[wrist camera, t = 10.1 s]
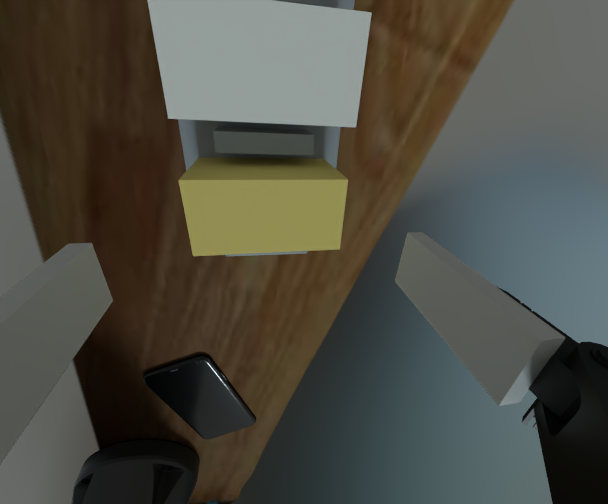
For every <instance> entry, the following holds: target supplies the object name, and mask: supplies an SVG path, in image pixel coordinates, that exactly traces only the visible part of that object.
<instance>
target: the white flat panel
mask: <svg viewBox="0 0 608 504" xmlns="http://www.w3.org/2000/svg"><path fill="white" fill-rule="evenodd" d="M148 6H149V11H150V17H151V23H152V28H153V34H154V40H155V45H156V51H157V57H158V62H159V68H160V74H161V79H162V85H163V91H164V96H165V102H166V108H167V113H168V119H188V120H209V121H231V122H252V123H273V124H295V125H316V126H337V127H356V123H357V116H358V109H359V101H360V94H361V87H362V79H363V72H364V65H365V57H366V50H367V43H368V36H369V28H370V21H371V14H372V13H371V12H363V11H355V10H347V9H339V8H331V7H323V6H315V5H307V4H299V3H291V2H283V1H275V0H148Z"/></svg>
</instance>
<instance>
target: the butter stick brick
mask: <svg viewBox="0 0 608 504" xmlns="http://www.w3.org/2000/svg"><path fill="white" fill-rule="evenodd" d="M179 185H180V190H181V196H182V201H183V206H184V211H185V216H186V222H187V227H188V232H189V237H190V242H191V248H192V253H193V256H208V255H230V254H251V253H272V252H293V251H314V250H335V249H340V242H341V234H342V226H343V218H344V210H345V201H346V193H347V185H348V179H347V178H346V177H345V176H343V175H342V174H341V173H340V172H339V171H338V170H336V169H335V168H334V167H333V166H332V165H331V164H329V163H328V162H327V161H326V160H325V159H297V158H198V159H197V160H196V161H195V162H194V163H193V165H192V166H191V167H190V168H189V169H188V170H187V171H186V172H185V173H184V175H183V176H182V177H181V178H180V179H179Z"/></svg>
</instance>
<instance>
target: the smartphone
mask: <svg viewBox="0 0 608 504" xmlns="http://www.w3.org/2000/svg"><path fill="white" fill-rule="evenodd" d="M143 382H144V383H145V384H146V385H147V386H148V387H149V388H150V389H151V390H152V391H153V392H154V393H155V394H157V395H158V396H159V397H160V398H161V399H162V400H163V401H164V402H165V403H166V404H167V405H168V406H169V407H170V408H171V409H173V410H174V411H175V412H176V413H177V414H178V415H179V416H180V417H181V418H182V419H183V420H184V421H185V422H186V423H188V424H189V425H190V426H191V427H192V428H193V429H194V430H195V431H196V432H197V433H198V434H199V435H200V436H201V437H203V438H204V439H212V438H215V437H218V436H221V435H224V434H227V433H230V432H233V431H236V430H239V429H242V428H245V427H248V426H251V425H253V424H254V423H255V421H256V417H255V416H254V415H253V413H252V412H251V411H250V409H249V408H248V407H247V405H246V404H245V403H244V401H243V400H242V399H241V397H240V396H239V395H238V393H237V392H236V391H235V389H234V388H233V387H232V385H231V384H230V383H229V381H228V380H227V378H226V377H225V376H224V374H223V373H222V372H221V371H220V369H219V368H218V367H217V365H216V364H215V363H214V361H213V360H212V359H211V358H210V357H209V356H208V355H205V354H199V355H195V356H192V357H189V358H186V359H183V360H180V361H177V362H174V363H171V364H168V365H165V366H162V367H159V368H156V369H153V370H150V371H148V372H146V373H145V374H144V375H143Z"/></svg>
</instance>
